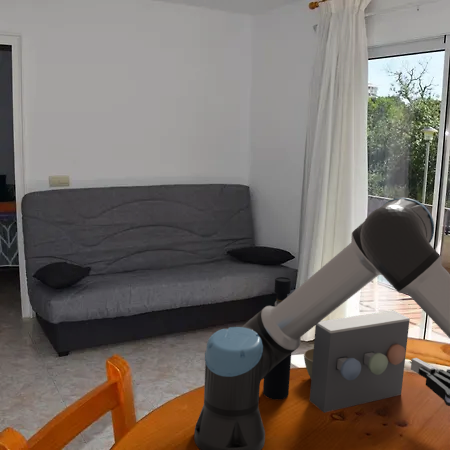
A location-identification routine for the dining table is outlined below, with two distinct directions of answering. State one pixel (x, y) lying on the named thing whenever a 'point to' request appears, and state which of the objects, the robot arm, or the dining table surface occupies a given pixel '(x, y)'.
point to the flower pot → (309, 360)
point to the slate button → (349, 367)
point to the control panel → (356, 348)
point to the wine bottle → (280, 374)
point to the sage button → (376, 362)
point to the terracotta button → (395, 354)
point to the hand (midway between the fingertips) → (413, 363)
